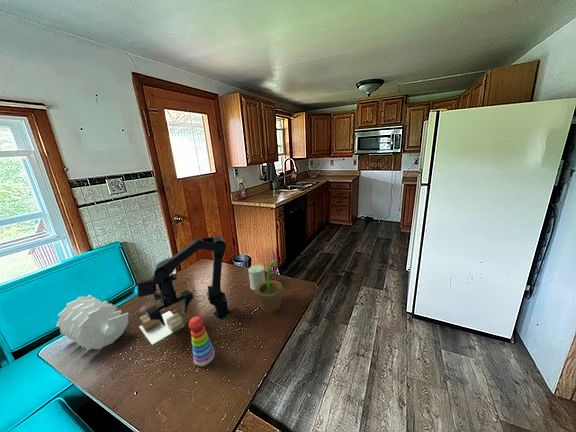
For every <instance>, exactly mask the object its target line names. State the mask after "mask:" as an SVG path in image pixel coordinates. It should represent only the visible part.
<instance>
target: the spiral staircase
mask: <svg viewBox="0 0 576 432" xmlns="http://www.w3.org/2000/svg"><path fill="white" fill-rule="evenodd" d="M57 316H58V317H59V318H58V321H57V324H56V326H55V327H57V328H59V330H60V335H61V336H62V335H64V336H66V337H67V338H68V340H69V341H71V340H72V342H73V343H77V345H78V346H81V349H82V348H85V349H86V350H87V351H90V350H102V349H103V347H106V346H109V345H110V344H113V343H115V341H116V340H117V339H118V338H120V336H122V335H123V334H124V333H125V332H124V331H126V328H127V326H128V325H129V322H130V321H129V312H126V313H123V314H122V310H118V307H116V306H115V304H112V303H109V302H108V301H107V300H104V301H101V300H100V299H98V298H96V297H94V296H93V295H91V294H89V295H87V296H78V297H77V298H76V299H75V300H73V301H70V302H68V303H66V307H65V308H64V309H63V310H62V311H61V312H59V313H58V314H57Z"/></svg>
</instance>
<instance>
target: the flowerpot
mask: <svg viewBox="0 0 576 432" xmlns="http://www.w3.org/2000/svg"><path fill="white" fill-rule="evenodd" d="M275 255H276V254H275V251H274V250H272V257H273V258H272V261H271V263H270V264H269V267H268V269H267V275H266V278H267V279H266V280H265V282H261V283H260V284H258V285H257V286H256V288H255V290H254V293H255V296H256V298H257V299H258V302H259V305H260V308H261V310H262V311H263V312H267V313H272V312H276V311H278V310H279V309H280V308H281V306H282V305H281V303H282V295H283V293H284V285H283V284H282V283H281V282H280V281H278V280H274V279H273V280H271V279H270V275H271V272H272V269H271V268H272V267H273V268H274V273H275V276H277V262H276V256H275Z"/></svg>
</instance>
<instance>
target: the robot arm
mask: <svg viewBox="0 0 576 432" xmlns="http://www.w3.org/2000/svg"><path fill="white" fill-rule="evenodd" d="M226 249H227V244H226V242H225V239H224V237H222V236H215V237H212V236H211V237H197V238H195V240H193V241H192V242H191V243H189V244H188V245H186V246H185V247H184V248H182V249H181V250H180V251H178V252H176V253H175V254H174V255H173V256H171V257H168V258H165V259H163V260H162V261H160V262H158V263H157V264H156V266H155V270H154V274H152V275H153V276H152V278H149V279H144V280H138V282H137V296H138V297H139V298H143V297H148V296H152V297H153V300H154V302H158V301H159V302H160V303H161V304H162V305H160V306H158V307H157V306H156V305H153V306H151V307H148V308H146V310H145V313H146V314H145V315H147V316H148V317H149V319H150V320H153V319H154V320H157V319H158V320H159V321H160V322H161V323H162V324H163V325H164V326H165V323H164V320H163V317H162V314H161V312H162V311H164V310H166V309H168V308H170V307H172V306H174V305H176V304H177V303H179V302H181V309H182V313H183V315H186V313H187V310H188V307H189V304H190V302H192V300H193V299H194V294H193V292H191V291H190V290H189V289H185V290H184V291H182V292H180V293H179V296H177V291H176V289H175V283H174V281H177V280H178V275H177V274H176V273H173V272H174V271H175V270H176V268H177V267H178V266H179V265H181V264H182V263H183V262H184V261H185V260H187V259H189V258H190V257H191V256H193V255H194V254H195V253H197V252H198V251H199V250H205V251H210V252H212V253H213V254H212V255H213V259H212V260H213V261H212V262H213V263H212V273H211V274H212V277H211V284H210V285H207V292H206V296H207V301H209V304H210V305H212V306H214V309H215V312H213V315H214V317H216V318H217V319H219V320H222V319H223V318H225V317H227V316H229V315H230V314H231V313H232V310H230V309H229V307H228V298H227V296H226V292H224V291H222V289H221V281H222V267H223V258H224V256H225V253H226ZM158 291H159V293H158Z"/></svg>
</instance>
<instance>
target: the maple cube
mask: <svg viewBox="0 0 576 432" xmlns="http://www.w3.org/2000/svg"><path fill="white" fill-rule="evenodd" d="M166 320H167V324H168V328H169V329H170V330H171V331H172V334H174V333H176V332H177V331H179V330H181V329H183V328H184V327H185V324H184V321H183V318H182V316H181V315H180V314H179V313H175V314H173V315H172V316H171V317H169V318H167V319H166ZM183 324H184V325H183ZM180 328H181V329H180Z"/></svg>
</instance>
